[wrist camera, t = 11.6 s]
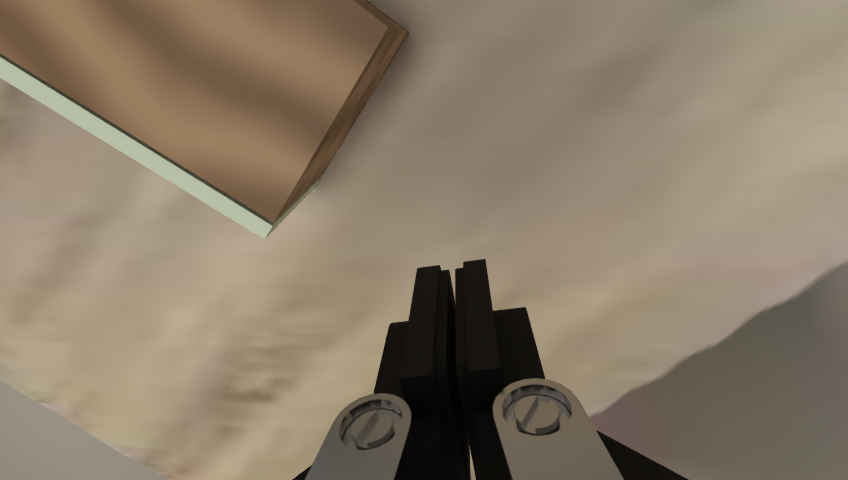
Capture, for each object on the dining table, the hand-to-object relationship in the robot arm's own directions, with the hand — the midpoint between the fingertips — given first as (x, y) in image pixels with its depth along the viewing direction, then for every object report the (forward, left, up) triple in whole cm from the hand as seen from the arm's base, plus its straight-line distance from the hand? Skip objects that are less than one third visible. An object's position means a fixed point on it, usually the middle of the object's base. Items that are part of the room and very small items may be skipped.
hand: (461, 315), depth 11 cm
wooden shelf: (+4, -18, -29) cm, 34 cm away
